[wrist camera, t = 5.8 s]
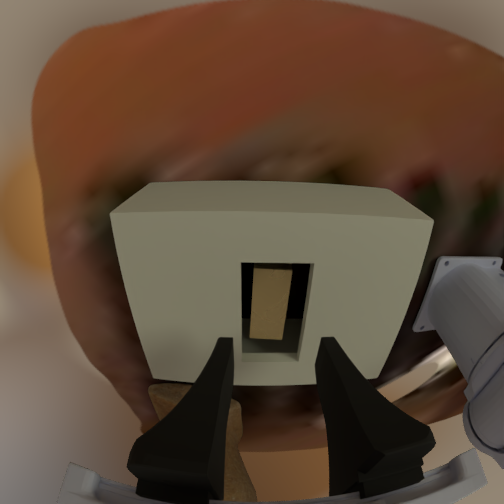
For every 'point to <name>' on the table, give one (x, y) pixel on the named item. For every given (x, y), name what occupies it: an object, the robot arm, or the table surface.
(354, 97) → the table surface
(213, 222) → the box
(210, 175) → the table surface
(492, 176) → the table surface
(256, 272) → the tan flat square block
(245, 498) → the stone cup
